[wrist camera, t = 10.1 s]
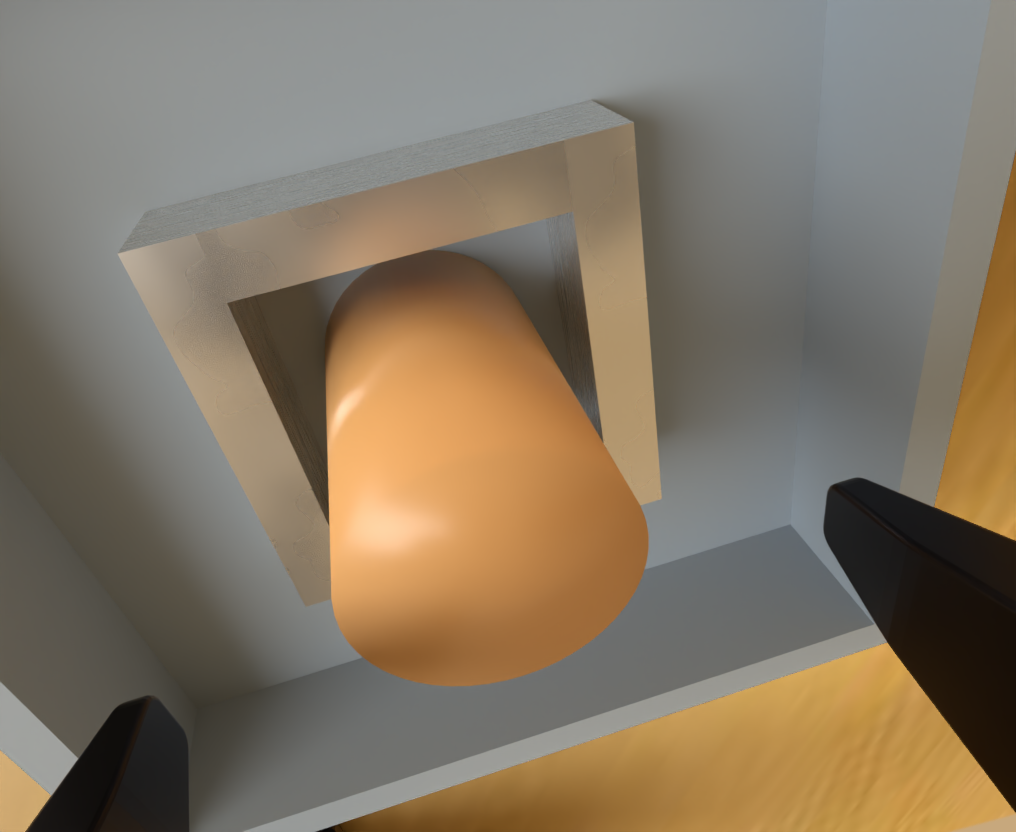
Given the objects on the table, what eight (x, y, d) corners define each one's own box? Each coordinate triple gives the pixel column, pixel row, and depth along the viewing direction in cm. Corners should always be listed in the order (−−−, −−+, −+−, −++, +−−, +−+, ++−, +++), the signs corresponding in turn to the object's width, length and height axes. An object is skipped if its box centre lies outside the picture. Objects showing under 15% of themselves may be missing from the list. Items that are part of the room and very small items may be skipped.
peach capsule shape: (540, 402, 17) (658, 633, 11) (361, 454, 16) (385, 719, 11) (507, 225, 14) (636, 406, 9) (294, 282, 14) (278, 510, 8)
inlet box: (807, 525, 22) (904, 636, 19) (180, 721, 21) (152, 885, 17) (889, -389, 11) (1179, -564, 7) (-496, -118, 9) (-1026, -166, 6)
